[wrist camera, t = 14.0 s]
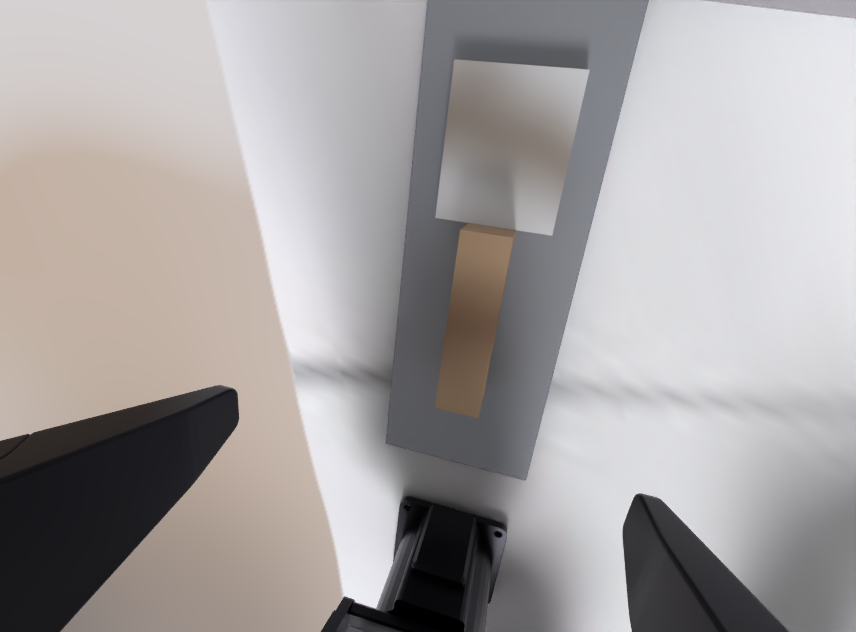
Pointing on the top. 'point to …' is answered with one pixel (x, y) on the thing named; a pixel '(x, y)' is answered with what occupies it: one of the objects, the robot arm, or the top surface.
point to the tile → (804, 6)
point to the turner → (497, 198)
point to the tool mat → (532, 253)
